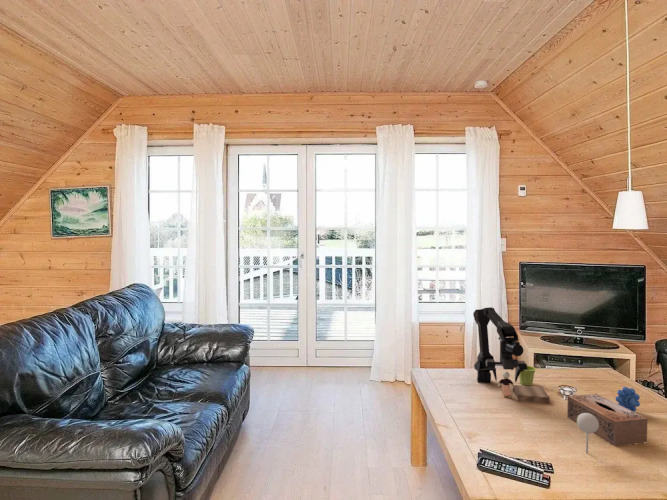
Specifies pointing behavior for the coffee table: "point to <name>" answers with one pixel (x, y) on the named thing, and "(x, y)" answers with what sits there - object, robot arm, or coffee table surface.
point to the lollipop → (587, 425)
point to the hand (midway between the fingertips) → (505, 381)
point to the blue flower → (628, 398)
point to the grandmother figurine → (506, 385)
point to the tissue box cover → (610, 419)
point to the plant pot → (527, 376)
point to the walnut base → (531, 394)
